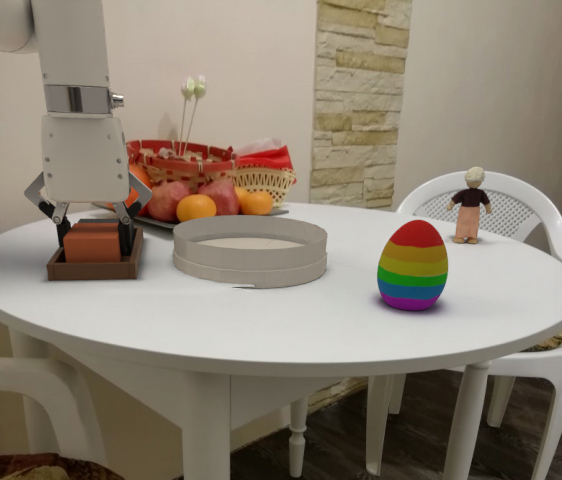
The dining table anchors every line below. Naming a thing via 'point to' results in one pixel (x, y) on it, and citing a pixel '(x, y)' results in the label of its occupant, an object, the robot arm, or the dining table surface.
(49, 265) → the pad frame
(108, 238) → the pad
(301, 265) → the dish
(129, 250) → the pad
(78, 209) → the dining table surface
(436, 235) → the decorative egg
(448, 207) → the grandmother figurine
